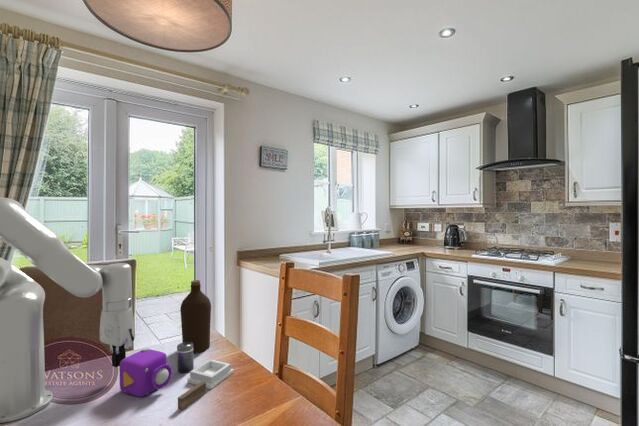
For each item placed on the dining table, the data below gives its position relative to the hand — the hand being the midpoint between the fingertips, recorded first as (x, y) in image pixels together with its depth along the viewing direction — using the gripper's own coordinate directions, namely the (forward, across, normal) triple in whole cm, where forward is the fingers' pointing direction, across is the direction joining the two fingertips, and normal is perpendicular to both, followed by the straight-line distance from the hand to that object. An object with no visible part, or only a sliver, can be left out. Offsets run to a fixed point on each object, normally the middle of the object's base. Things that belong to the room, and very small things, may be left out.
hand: (119, 364), depth 97 cm
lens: (+5, +14, +12) cm, 19 cm away
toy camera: (+5, +12, 0) cm, 13 cm away
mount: (+5, +25, +12) cm, 28 cm away
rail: (+5, +28, +1) cm, 29 cm away
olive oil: (+5, +5, +26) cm, 27 cm away
